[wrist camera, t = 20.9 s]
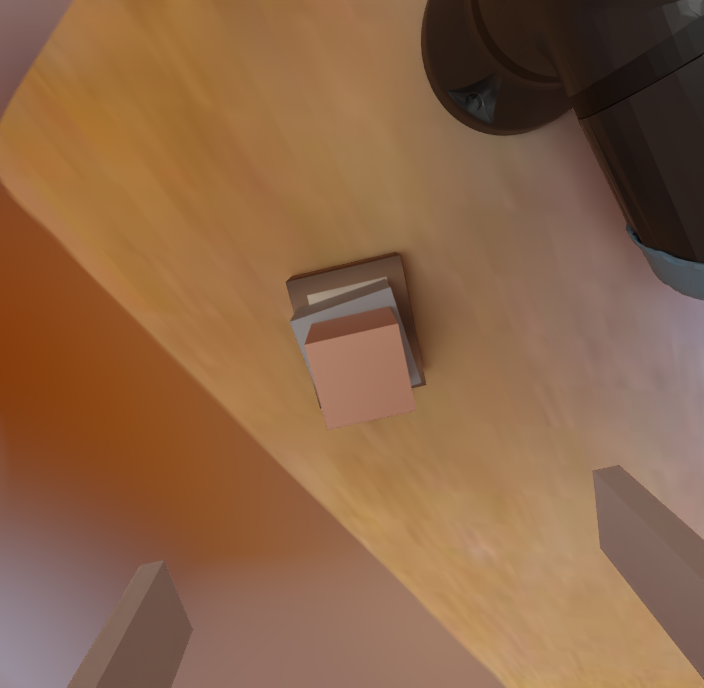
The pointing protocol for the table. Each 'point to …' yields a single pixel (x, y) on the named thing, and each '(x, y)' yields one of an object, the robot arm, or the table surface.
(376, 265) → the plinth
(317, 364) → the terracotta cube
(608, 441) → the table surface
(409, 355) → the slate block
